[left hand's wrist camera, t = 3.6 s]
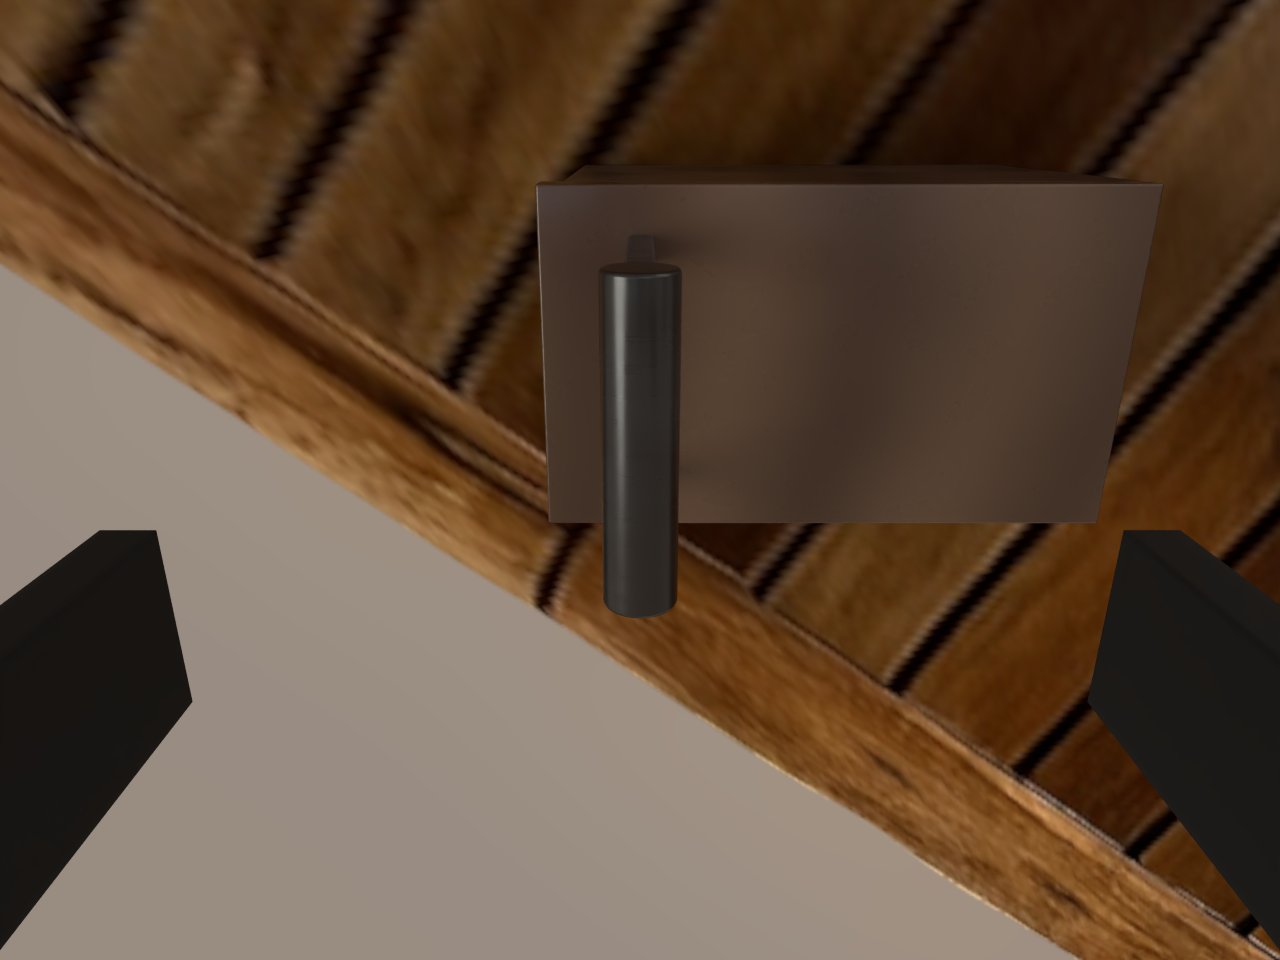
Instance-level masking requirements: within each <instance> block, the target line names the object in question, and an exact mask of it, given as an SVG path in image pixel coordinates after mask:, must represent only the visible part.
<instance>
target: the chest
mask: <svg viewBox="0 0 1280 960" xmlns="http://www.w3.org/2000/svg"><path fill="white" fill-rule="evenodd" d="M563 182H1141V181H1135V180H1126V179H1117V178H1108V177H1100V176H1091V175H1082V174H1074V173H1065V172H1056V171H1047V170H1039V169H1030V168H1021V167H1013V166H1004V165H585V166H584V167H582V168H581V169H580V170H578V171H577V172H576V173H574V174H573V175H572V176H570V177H569V178H567V179H566V180H565V181H563Z"/></svg>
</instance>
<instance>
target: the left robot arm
mask: <svg viewBox="0 0 1280 960" xmlns="http://www.w3.org/2000/svg"><path fill="white" fill-rule="evenodd" d="M191 703H192V697H191V692H190V688H189V683H188V678H187V673H186V669H185V664H184V659H183V655H182V650H181V645H180V640H179V636H178V631H177V626H176V621H175V617H174V612H173V607H172V603H171V598H170V593H169V588H168V584H167V579H166V574H165V570H164V565H163V560H162V555H161V551H160V546H159V541H158V537H157V532H156V530H100V531H98V532H97V533H96V534H94V535H93V536H92V537H90V538H89V539H88V540H86V541H85V542H84V543H82V544H81V545H80V546H78V547H77V548H76V549H74V550H73V551H72V552H70V553H69V554H68V555H66V556H65V557H64V558H62V559H61V560H60V561H58V562H57V563H56V564H54V565H53V566H52V567H50V568H49V569H48V570H46V571H45V572H44V573H43V574H41V575H40V576H38V577H37V578H36V579H35V580H33V581H32V582H31V583H29V584H28V585H27V586H25V587H24V588H22V589H21V590H20V591H18V592H17V593H16V594H14V595H13V596H12V597H11V598H9V599H8V600H7V601H5V602H4V603H3V604H1V605H0V950H1V948H2V947H3V946H4V944H5V943H6V942H7V941H8V939H9V938H10V937H11V935H12V934H13V933H14V932H15V930H16V929H17V928H18V926H19V925H20V924H21V923H22V921H23V920H24V919H25V917H26V916H27V915H28V913H29V912H30V911H31V910H32V908H33V907H34V906H35V904H36V903H37V902H38V901H39V899H40V898H41V897H42V895H43V894H44V893H45V891H46V890H47V889H48V888H49V886H50V885H51V884H52V882H53V881H54V880H55V879H56V877H57V876H58V875H59V873H60V872H61V871H62V870H63V868H64V867H65V866H66V864H67V863H68V862H69V860H70V859H71V858H72V857H73V855H74V854H75V853H76V851H77V850H78V849H79V848H80V846H81V845H82V844H83V842H84V841H85V840H86V839H87V837H88V836H89V835H90V833H91V832H92V831H93V829H94V828H95V827H96V826H97V824H98V823H99V822H100V820H101V819H102V818H103V817H104V815H105V814H106V813H107V811H108V810H109V809H110V808H111V806H112V805H113V804H114V802H115V801H116V800H117V799H118V797H119V796H120V795H121V793H122V792H123V791H124V790H125V788H126V787H127V786H128V784H129V783H130V782H131V780H132V779H133V778H134V776H135V775H136V774H137V773H138V771H139V770H140V769H141V767H142V766H143V765H144V764H145V762H146V761H147V760H148V759H149V757H150V756H151V755H152V753H153V752H154V751H155V749H156V748H157V747H158V746H159V744H160V743H161V742H162V740H163V739H164V738H165V737H166V735H167V734H168V733H169V731H170V730H171V729H172V728H173V726H174V725H175V724H176V722H177V721H178V720H179V718H180V717H181V716H182V715H183V713H184V712H185V711H186V709H187V708H188V707H189V706H190V704H191ZM1088 703H1089V704H1090V706H1091V707H1092V708H1093V709H1094V711H1095V712H1096V713H1097V715H1098V716H1099V717H1100V718H1101V720H1102V721H1103V722H1104V724H1105V725H1106V726H1107V728H1108V729H1109V730H1110V731H1111V733H1112V734H1113V735H1114V737H1115V738H1116V739H1117V740H1118V742H1119V743H1120V744H1121V746H1122V747H1123V748H1124V749H1125V751H1126V752H1127V753H1128V755H1129V756H1130V757H1131V759H1132V760H1133V761H1134V762H1135V764H1136V765H1137V766H1138V768H1139V769H1140V770H1141V771H1142V773H1143V774H1144V775H1145V777H1146V778H1147V779H1148V780H1149V782H1150V783H1151V784H1152V786H1153V787H1154V788H1155V790H1156V791H1157V792H1158V793H1159V795H1160V796H1161V797H1162V799H1163V800H1164V801H1165V802H1166V804H1167V805H1168V806H1169V808H1170V809H1171V810H1172V811H1173V813H1174V814H1175V815H1176V817H1177V818H1178V819H1179V821H1180V822H1181V823H1182V824H1183V826H1184V827H1185V828H1186V830H1187V831H1188V832H1189V833H1190V835H1191V836H1192V837H1193V839H1194V840H1195V841H1196V842H1197V844H1198V845H1199V846H1200V848H1201V849H1202V850H1203V851H1204V853H1205V854H1206V855H1207V857H1208V858H1209V859H1210V861H1211V862H1212V863H1213V864H1214V866H1215V867H1216V868H1217V870H1218V871H1219V872H1220V873H1221V875H1222V876H1223V877H1224V879H1225V880H1226V881H1227V882H1228V884H1229V885H1230V886H1231V888H1232V889H1233V890H1234V892H1235V893H1236V894H1237V895H1238V897H1239V898H1240V899H1241V901H1242V902H1243V903H1244V904H1245V906H1246V907H1247V908H1248V910H1249V911H1250V912H1251V913H1252V915H1253V916H1254V917H1255V919H1256V920H1257V921H1258V923H1259V924H1260V925H1261V926H1262V928H1263V929H1264V930H1265V932H1266V933H1267V934H1268V935H1269V937H1270V938H1271V939H1272V941H1273V942H1274V943H1275V944H1276V946H1277V947H1278V948H1279V950H1280V605H1279V604H1277V603H1276V602H1275V601H1273V600H1272V599H1271V598H1269V597H1268V596H1267V595H1266V594H1264V593H1263V592H1262V591H1260V590H1259V589H1258V588H1256V587H1255V586H1254V585H1252V584H1251V583H1250V582H1248V581H1247V580H1246V579H1244V578H1243V577H1242V576H1240V575H1239V574H1238V573H1236V572H1235V571H1234V570H1232V569H1231V568H1230V567H1228V566H1227V565H1226V564H1224V563H1223V562H1222V561H1220V560H1219V559H1218V558H1216V557H1215V556H1214V555H1212V554H1211V553H1210V552H1208V551H1207V550H1206V549H1204V548H1203V547H1202V546H1200V545H1199V544H1198V543H1196V542H1195V541H1194V540H1192V539H1191V538H1190V537H1188V536H1187V535H1186V534H1184V533H1183V532H1182V531H1180V530H1124V532H1123V537H1122V541H1121V546H1120V551H1119V555H1118V560H1117V565H1116V570H1115V574H1114V579H1113V584H1112V588H1111V593H1110V598H1109V603H1108V607H1107V612H1106V617H1105V621H1104V626H1103V631H1102V636H1101V640H1100V645H1099V650H1098V654H1097V659H1096V664H1095V669H1094V673H1093V678H1092V683H1091V688H1090V692H1089V697H1088Z"/></svg>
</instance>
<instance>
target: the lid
mask: <svg viewBox="0 0 1280 960" xmlns="http://www.w3.org/2000/svg"><path fill="white" fill-rule="evenodd" d="M535 187H536V212H537V237H538V262H539V287H540V312H541V338H542V363H543V388H544V413H545V438H546V463H547V488H548V513H549V522H550V523H602V546H603V600H604V603H605V605H606V606H607V607H608V609H610V610H611V611H612V612H614V613H616V614H619V615H622V616H625V617H631V618H649V617H655V616H659V615H662V614H664V613H666V612H668V611H670V610H671V609H672V608H673V607H674V605H675V603H676V601H677V573H678V523H1096V522H1097V518H1098V513H1099V508H1100V503H1101V498H1102V493H1103V488H1104V483H1105V478H1106V473H1107V468H1108V463H1109V458H1110V453H1111V448H1112V443H1113V438H1114V433H1115V428H1116V423H1117V418H1118V413H1119V408H1120V403H1121V398H1122V393H1123V387H1124V382H1125V377H1126V372H1127V367H1128V362H1129V357H1130V352H1131V347H1132V342H1133V337H1134V332H1135V327H1136V322H1137V317H1138V312H1139V307H1140V302H1141V297H1142V292H1143V287H1144V282H1145V277H1146V272H1147V267H1148V262H1149V257H1150V252H1151V247H1152V242H1153V237H1154V232H1155V227H1156V222H1157V217H1158V212H1159V207H1160V202H1161V197H1162V192H1163V187H1164V186H1163V184H1160V183H1151V182H540V183H538V184H536V186H535Z"/></svg>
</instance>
